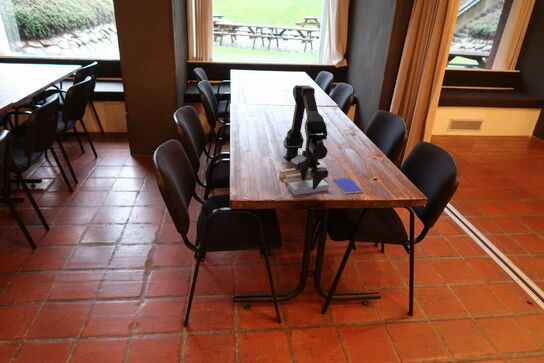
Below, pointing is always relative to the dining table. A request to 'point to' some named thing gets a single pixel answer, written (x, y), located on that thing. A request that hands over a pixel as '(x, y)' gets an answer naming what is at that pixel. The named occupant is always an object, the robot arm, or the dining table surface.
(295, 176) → the birch box
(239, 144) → the dining table surface
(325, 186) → the cover plate
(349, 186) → the hard drive
